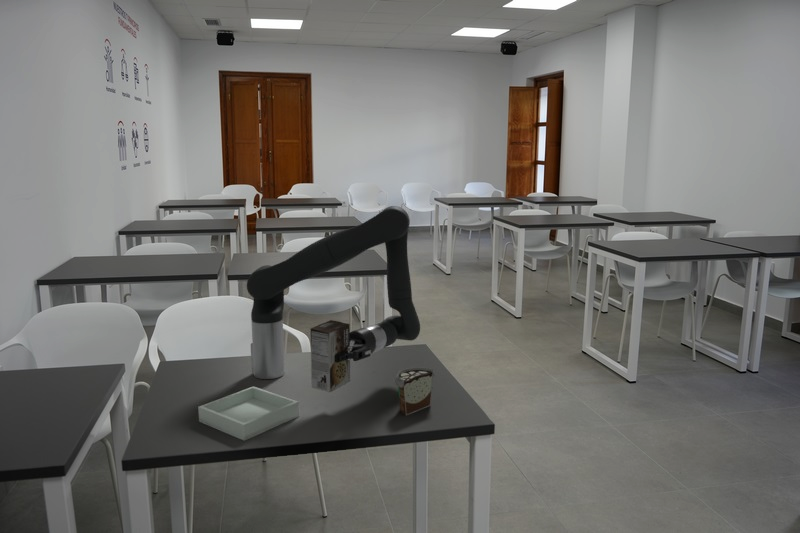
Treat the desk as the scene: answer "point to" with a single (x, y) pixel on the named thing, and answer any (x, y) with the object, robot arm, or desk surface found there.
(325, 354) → the brown cardboard box
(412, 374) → the food container
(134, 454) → the desk surface
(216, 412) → the tray
